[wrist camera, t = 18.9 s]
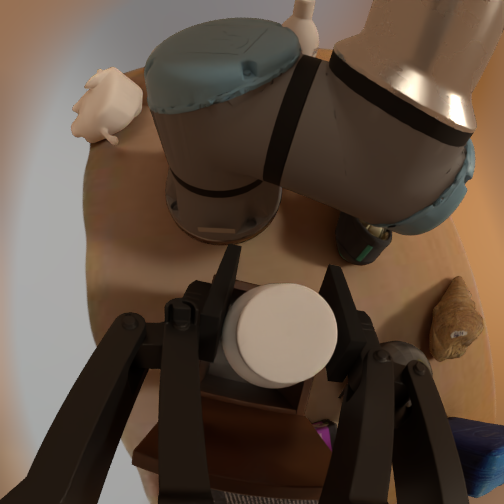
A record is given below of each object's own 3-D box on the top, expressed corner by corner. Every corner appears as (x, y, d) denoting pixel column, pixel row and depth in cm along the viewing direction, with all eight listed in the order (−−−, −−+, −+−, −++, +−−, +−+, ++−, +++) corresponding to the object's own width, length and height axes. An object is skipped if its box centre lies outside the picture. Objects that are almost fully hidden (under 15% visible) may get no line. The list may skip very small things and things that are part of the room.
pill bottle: (229, 379, 17) (225, 409, 9) (220, 305, 19) (209, 274, 11) (305, 368, 18) (359, 384, 9) (295, 297, 20) (339, 260, 11)
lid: (132, 450, 8) (130, 465, 8) (359, 485, 8) (352, 499, 7) (183, 390, 18) (181, 400, 18) (306, 415, 18) (303, 425, 18)
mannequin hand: (109, 111, 45) (151, 77, 42) (107, 179, 41) (158, 141, 37) (66, 84, 34) (109, 42, 30) (49, 154, 29) (98, 102, 26)
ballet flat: (384, 145, 42) (404, 115, 34) (379, 277, 34) (412, 258, 26) (341, 129, 42) (357, 95, 34) (322, 260, 34) (346, 236, 26)
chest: (220, 297, 32) (214, 274, 22) (298, 315, 32) (329, 300, 21) (200, 377, 29) (183, 394, 18) (280, 394, 29) (303, 418, 18)
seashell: (435, 293, 38) (419, 267, 35) (476, 278, 33) (466, 248, 30) (437, 371, 30) (423, 354, 27) (487, 358, 24) (482, 338, 21)
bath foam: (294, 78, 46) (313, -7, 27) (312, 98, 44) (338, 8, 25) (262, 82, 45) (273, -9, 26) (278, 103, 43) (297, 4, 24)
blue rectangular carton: (456, 412, 28) (554, 423, 9) (447, 443, 26) (539, 465, 7) (388, 416, 28) (500, 451, 9) (377, 451, 26) (476, 505, 7)
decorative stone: (395, 333, 32) (443, 325, 22) (405, 400, 29) (452, 410, 19) (328, 354, 31) (364, 356, 21) (340, 427, 28) (377, 452, 18)
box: (327, 417, 28) (169, 444, 26) (338, 423, 25) (163, 453, 23) (339, 497, 24) (195, 524, 21) (348, 508, 21) (193, 537, 18)
